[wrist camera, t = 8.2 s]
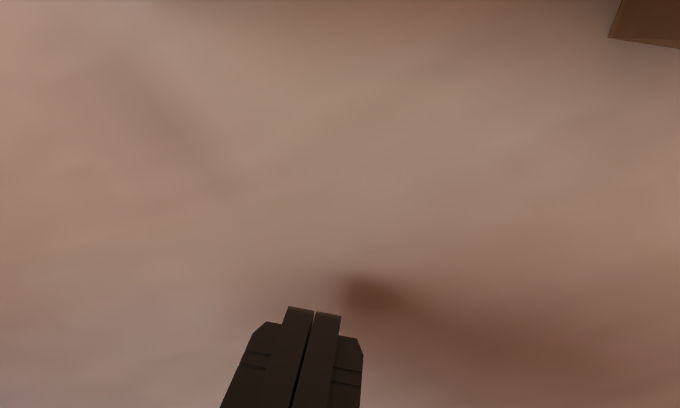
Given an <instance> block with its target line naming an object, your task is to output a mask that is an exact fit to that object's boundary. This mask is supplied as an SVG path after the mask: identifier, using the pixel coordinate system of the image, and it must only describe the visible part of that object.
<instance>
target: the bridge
mask: <svg viewBox="0 0 680 408" xmlns="http://www.w3.org/2000/svg"><path fill="white" fill-rule="evenodd" d="M607 38H613V39H619V40H626V41H632V42H639V43H645V44H652V45H658V46H665V47H671V48H678V49H680V0H622V3H621V5H620V8H619V10H618V13H617V15H616V18H615V20H614V23H613V25H612V28H611V30H610V33H609V35H608V37H607Z"/></svg>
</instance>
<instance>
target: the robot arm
mask: <svg viewBox="0 0 680 408" xmlns="http://www.w3.org/2000/svg"><path fill="white" fill-rule="evenodd" d="M313 318H314V311H312V310H307V309H301V308H296V307H291V306H289V307H288V309H287V312H286V315H285V317H284V320H283V323H282V324H277V323H272V322H265V323H264V324H263V325H262V326H260V327H259V328H258V329H257V330H256V331H255V332H254V333H253V334H252V336H251V338H250V341H249V343H248V345H247V347H246V350H245V353H244V354H243V356H242V359H241V361H240V364H239V366H238V368H237V370H236V372H235V374H234V377H233V379H232V381H231V383H230V386H229V388H228V390H227V392H226V395H225V397H224V399H223V401H222V404H221V406H220V408H359V407H360V394H361V380H362V367H363V353H362V350H361V348H360V345H359V343H358V340H357V339H355V338H350V337H344V336H339V335H338V334H339V328H340V322H341V316H338V315H333V314H328V313H323V312H318V311H316V314H315V318H314V321H313Z"/></svg>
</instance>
